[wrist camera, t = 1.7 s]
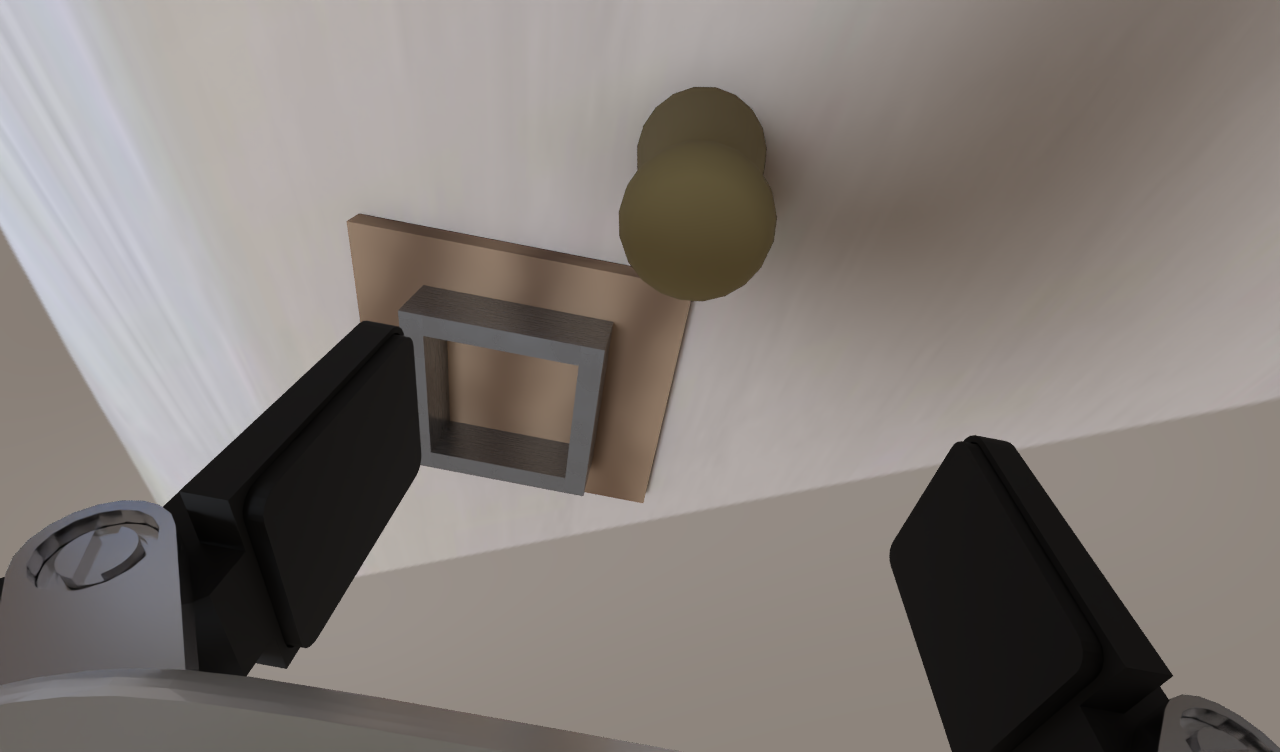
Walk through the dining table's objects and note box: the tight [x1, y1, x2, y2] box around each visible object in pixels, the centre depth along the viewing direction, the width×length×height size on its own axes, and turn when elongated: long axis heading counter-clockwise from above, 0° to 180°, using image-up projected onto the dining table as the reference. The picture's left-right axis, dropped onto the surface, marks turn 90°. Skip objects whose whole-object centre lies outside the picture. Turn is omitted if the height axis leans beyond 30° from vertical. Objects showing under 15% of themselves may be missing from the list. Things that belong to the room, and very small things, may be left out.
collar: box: [398, 285, 613, 496], centre depth 32 cm, size 10×10×3 cm
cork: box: [619, 87, 777, 301], centre depth 22 cm, size 6×6×11 cm
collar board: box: [347, 214, 691, 503], centre depth 34 cm, size 18×16×1 cm
